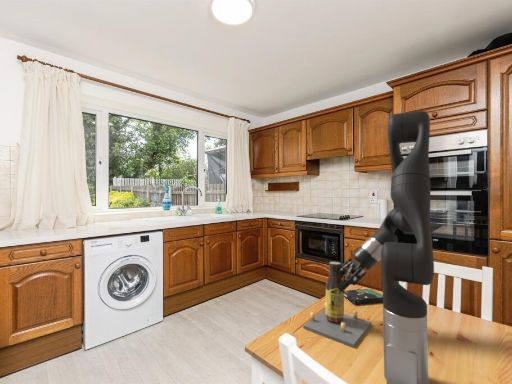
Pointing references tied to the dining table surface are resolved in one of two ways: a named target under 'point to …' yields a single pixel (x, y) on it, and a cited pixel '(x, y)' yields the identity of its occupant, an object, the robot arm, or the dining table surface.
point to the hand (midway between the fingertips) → (336, 285)
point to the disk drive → (363, 296)
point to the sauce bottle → (334, 294)
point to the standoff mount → (339, 328)
